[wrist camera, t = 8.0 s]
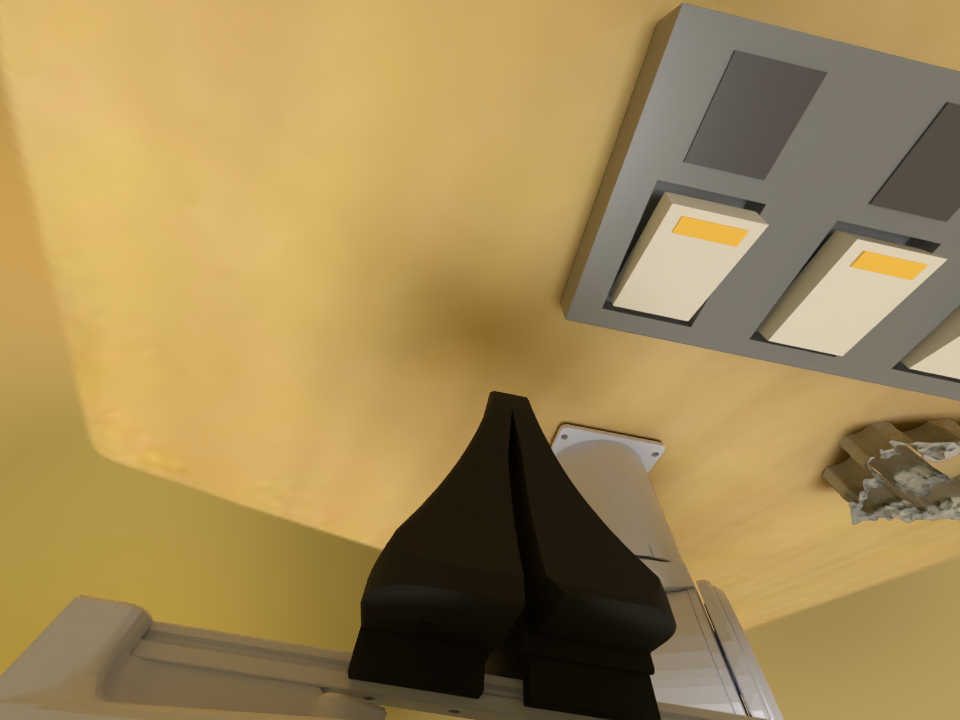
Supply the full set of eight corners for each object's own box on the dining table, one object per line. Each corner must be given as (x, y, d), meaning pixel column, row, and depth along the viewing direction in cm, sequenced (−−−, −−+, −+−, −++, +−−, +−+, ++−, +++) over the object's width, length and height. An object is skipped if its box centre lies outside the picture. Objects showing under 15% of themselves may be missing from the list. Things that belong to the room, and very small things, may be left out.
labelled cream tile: (681, 306, 18) (688, 322, 17) (609, 291, 18) (612, 306, 17) (756, 211, 14) (770, 226, 13) (665, 191, 14) (673, 204, 13)
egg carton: (1037, 407, 22) (1136, 458, 18) (960, 482, 26) (1029, 535, 22) (850, 414, 23) (910, 462, 20) (805, 484, 27) (848, 534, 24)
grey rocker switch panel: (938, 380, 21) (984, 406, 19) (560, 301, 20) (565, 320, 18) (1208, 157, 14) (1323, 160, 12) (657, 21, 13) (683, 1, 11)
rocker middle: (825, 342, 18) (843, 357, 17) (754, 328, 18) (769, 342, 17) (920, 248, 15) (950, 260, 14) (835, 229, 15) (859, 239, 14)
